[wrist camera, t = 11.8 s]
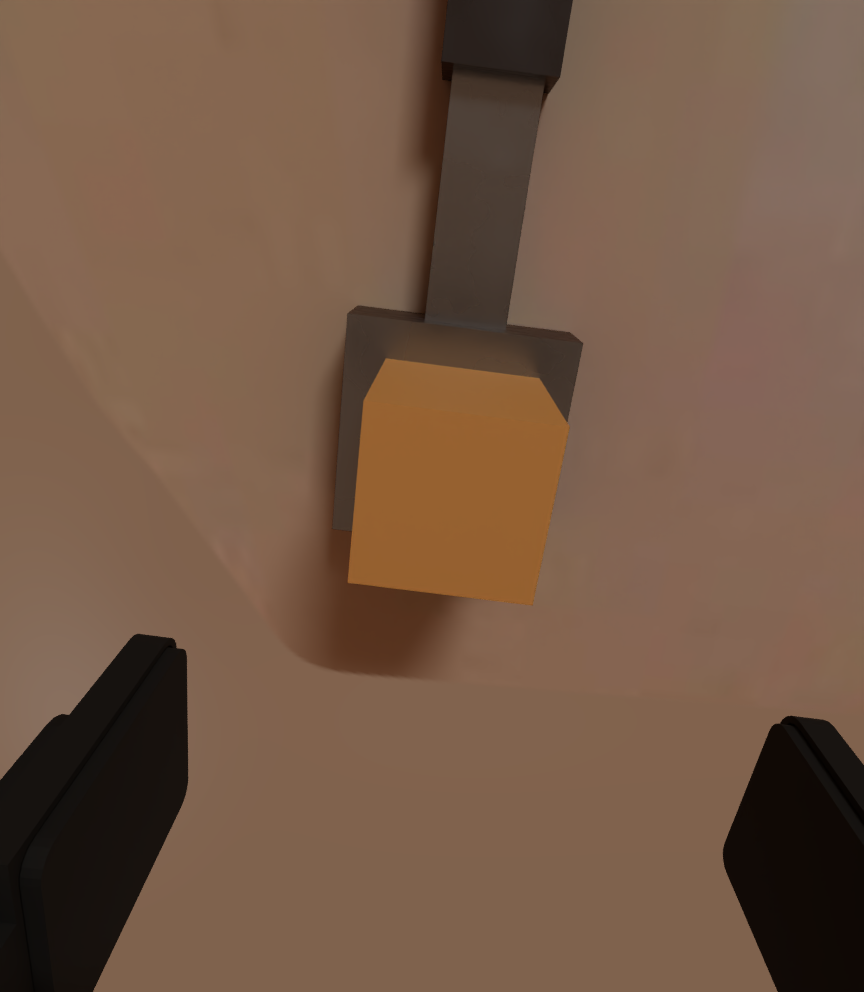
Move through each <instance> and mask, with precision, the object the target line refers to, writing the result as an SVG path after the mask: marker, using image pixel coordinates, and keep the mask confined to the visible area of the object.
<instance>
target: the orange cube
mask: <svg viewBox="0 0 864 992" xmlns="http://www.w3.org/2000/svg"><path fill="white" fill-rule="evenodd" d="M569 428H570V427H569V425H568V423H567V422H566V420H565V419H564V417H563V415H562V414H561V412H560V411H559V409H558V407H557V406H556V404H555V402H554V401H553V399H552V398H551V396H550V394H549V393H548V391H547V390H546V388H545V386H544V385H543V383H542V381H541V380H540V378H533V377H526V376H518V375H510V374H502V373H495V372H487V371H479V370H472V369H464V368H456V367H449V366H441V365H433V364H425V363H418V362H410V361H402V360H395V359H387V358H386V359H385V361H384V363H383V365H382V367H381V369H380V370H379V372H378V374H377V376H376V378H375V380H374V382H373V384H372V385H371V387H370V389H369V391H368V393H367V395H366V397H365V399H364V401H363V412H362V424H361V435H360V447H359V458H358V469H357V481H356V492H355V504H354V515H353V527H352V538H351V549H350V561H349V572H348V583H354V584H362V585H370V586H378V587H386V588H394V589H402V590H411V591H419V592H427V593H435V594H443V595H451V596H460V597H468V598H476V599H484V600H492V601H500V602H508V603H517V604H525V605H533V601H534V596H535V591H536V586H537V581H538V577H539V572H540V567H541V562H542V557H543V553H544V548H545V543H546V538H547V533H548V529H549V524H550V519H551V514H552V509H553V505H554V500H555V495H556V490H557V485H558V481H559V476H560V471H561V466H562V461H563V457H564V452H565V447H566V442H567V437H568V433H569Z"/></svg>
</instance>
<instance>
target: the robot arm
mask: <svg viewBox="0 0 864 992" xmlns="http://www.w3.org/2000/svg"><path fill="white" fill-rule="evenodd" d="M187 728H188V725H187V655H186V651H185V650H184V649H177V648H176V643H175V640H174V639H172V638H166V637H158V636H150V635H143V634H136V635H134V636H133V637H132V638H131V639H130V640H129V641H128V642H127V644H126V645H125V646H124V647H123V649H122V650H121V651H120V652H119V654H118V655H117V656H116V657H115V659H114V660H113V661H112V662H111V664H110V665H109V666H108V667H107V669H106V670H105V671H104V672H103V674H102V675H101V676H100V677H99V679H98V680H97V681H96V682H95V684H94V685H93V686H92V687H91V688H90V690H89V691H88V692H87V693H86V695H85V696H84V697H83V698H82V700H81V701H80V702H79V703H78V705H77V706H76V707H75V708H74V710H73V711H72V712H71V714H70V715H65V714H61V715H58V716H56V717H54V718H53V719H52V720H51V721H50V722H49V723H48V724H47V725H46V726H45V727H44V728H43V730H42V731H41V732H40V733H39V735H38V736H37V737H36V738H35V739H34V740H33V742H32V743H31V744H30V745H29V747H28V748H27V749H26V750H25V751H24V753H23V754H22V755H21V756H20V757H19V758H18V760H17V761H16V762H15V763H14V764H13V766H12V767H11V768H10V769H9V770H8V772H7V773H6V774H5V775H4V776H3V778H2V779H1V780H0V992H93V990H94V988H95V986H96V984H97V982H98V980H99V977H100V975H101V973H102V971H103V969H104V967H105V965H106V963H107V961H108V959H109V957H110V954H111V952H112V950H113V948H114V946H115V944H116V942H117V940H118V938H119V936H120V933H121V932H122V929H123V927H124V925H125V923H126V921H127V919H128V917H129V915H130V913H131V911H132V909H133V906H134V904H135V902H136V900H137V898H138V896H139V894H140V892H141V890H142V888H143V885H144V883H145V881H146V879H147V877H148V875H149V873H150V871H151V869H152V867H153V865H154V862H155V860H156V858H157V856H158V854H159V852H160V850H161V848H162V846H163V844H164V842H165V839H166V837H167V835H168V833H169V831H170V829H171V827H172V825H173V823H174V820H175V819H176V816H177V814H178V812H179V810H180V808H181V806H182V803H183V801H184V798H185V795H186V790H187V785H188V729H187ZM723 860H724V866H725V869H726V872H727V875H728V877H729V879H730V882H731V884H732V886H733V888H734V891H735V893H736V896H737V898H738V900H739V903H740V905H741V907H742V910H743V912H744V914H745V917H746V919H747V921H748V924H749V926H750V928H751V931H752V933H753V935H754V938H755V940H756V942H757V945H758V947H759V949H760V951H761V954H762V956H763V958H764V961H765V963H766V966H767V968H768V970H769V972H770V975H771V977H772V980H773V982H774V984H775V987H776V989H777V991H778V992H864V765H863V764H862V762H861V761H860V760H859V758H858V757H857V756H856V755H855V753H854V752H853V751H852V750H851V748H850V747H849V745H848V744H847V743H846V742H845V740H844V739H843V738H842V737H841V735H840V734H839V733H838V731H837V730H836V729H835V727H834V726H833V725H832V724H830V723H829V722H828V721H825V720H820V719H812V718H803V717H796V716H787V717H785V718H784V719H783V720H782V721H781V723H780V724H774V725H773V726H772V727H771V729H770V731H769V733H768V736H767V738H766V741H765V744H764V746H763V748H762V751H761V753H760V756H759V759H758V761H757V763H756V766H755V768H754V771H753V774H752V776H751V778H750V781H749V783H748V786H747V788H746V791H745V793H744V796H743V799H742V801H741V804H740V806H739V809H738V812H737V814H736V816H735V819H734V821H733V824H732V826H731V829H730V831H729V834H728V836H727V839H726V841H725V844H724V848H723Z"/></svg>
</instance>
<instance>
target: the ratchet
mask: <svg viewBox="0 0 864 992" xmlns="http://www.w3.org/2000/svg"><path fill="white" fill-rule="evenodd" d="M572 1H573V0H448V4H447V13H446V23H445V32H444V41H443V51H442V60H441V63H442V80H449V81H452V84H451V92H450V101H449V110H448V119H447V128H446V137H445V146H444V154H443V163H442V172H441V181H440V190H439V199H438V207H437V216H436V225H435V234H434V243H433V252H432V261H431V269H430V278H429V287H428V296H427V305H426V314H421V313H413V312H405V311H397V310H389V309H381V308H374V307H366V306H357V307H355V308H354V309H353V310H351V311H350V312H349V313H348V314H347V328H346V342H345V356H344V371H343V385H342V399H341V413H340V427H339V441H338V456H337V470H336V484H335V498H334V512H333V527H332V529H337V530H345V531H352V527H353V515H354V504H355V492H356V481H357V469H358V458H359V447H360V435H361V424H362V412H363V401H364V399H365V397H366V395H367V393H368V391H369V389H370V387H371V385H372V384H373V382H374V380H375V378H376V376H377V374H378V372H379V370H380V369H381V367H382V365H383V363H384V361H385V359H386V358H387V359H395V360H402V361H410V362H418V363H425V364H433V365H441V366H449V367H456V368H464V369H472V370H479V371H487V372H495V373H502V374H510V375H518V376H526V377H533V378H540V380H541V381H542V383H543V385H544V386H545V388H546V390H547V391H548V393H549V394H550V396H551V398H552V399H553V401H554V402H555V404H556V406H557V407H558V409H559V411H560V412H561V414H562V415H563V417H564V419H565V420H566V422H567V421H568V416H569V411H570V406H571V401H572V396H573V391H574V386H575V381H576V376H577V371H578V366H579V361H580V357H581V352H582V347H583V343H582V342H581V341H580V340H579V339H577V338H576V337H575V336H574V335H573V334H571V333H570V332H563V331H555V330H547V329H539V328H531V327H523V326H515V325H507V318H508V312H509V305H510V299H511V293H512V286H513V280H514V274H515V267H516V261H517V255H518V248H519V242H520V236H521V229H522V223H523V217H524V210H525V204H526V198H527V191H528V185H529V179H530V172H531V166H532V160H533V153H534V147H535V141H536V134H537V128H538V122H539V115H540V109H541V103H542V96H543V93H546V94H549V92H550V91H551V89H552V88H553V86H554V85H555V84H556V82H557V81H558V79H559V78H560V74H561V68H562V62H563V56H564V50H565V44H566V37H567V31H568V25H569V19H570V13H571V7H572Z"/></svg>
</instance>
